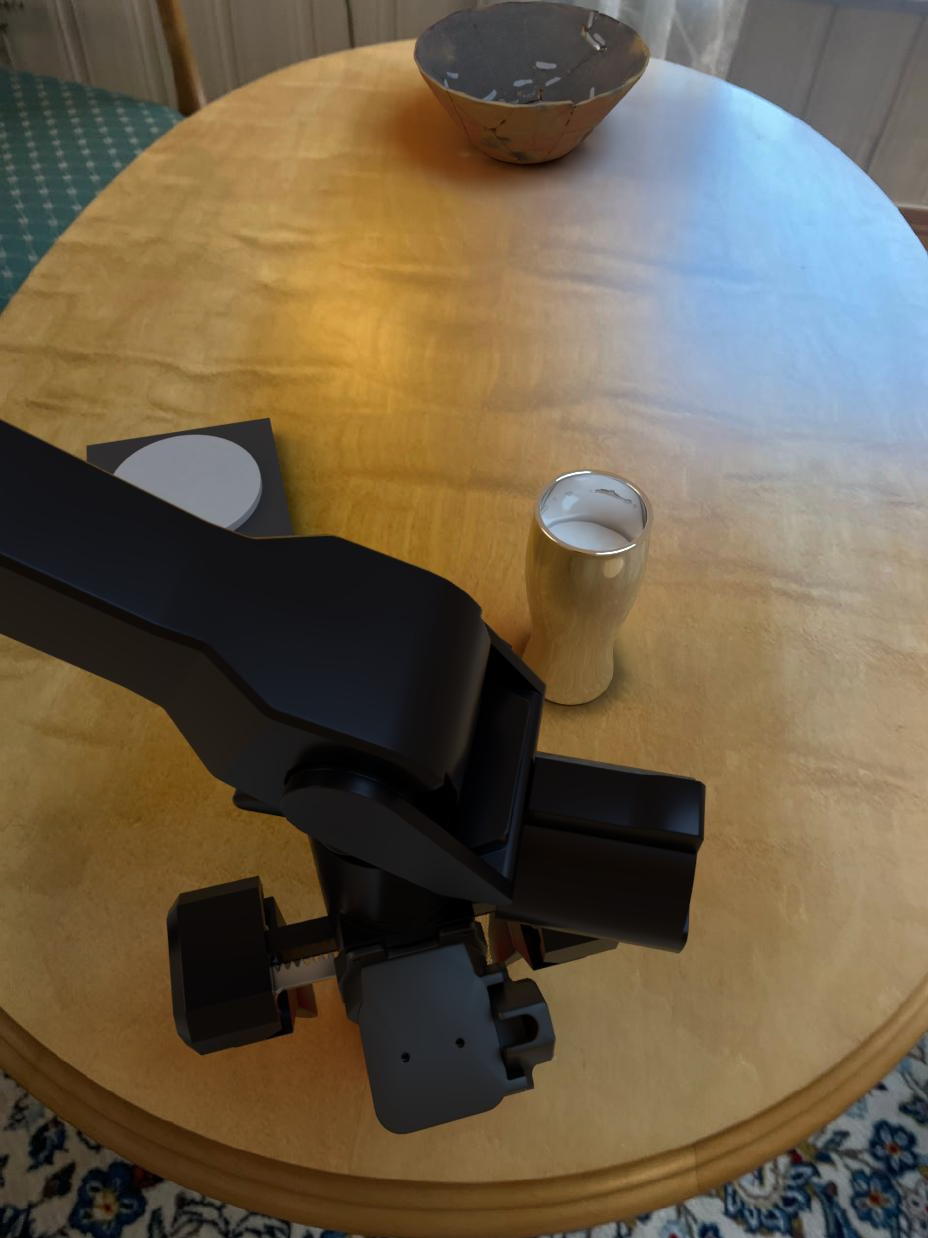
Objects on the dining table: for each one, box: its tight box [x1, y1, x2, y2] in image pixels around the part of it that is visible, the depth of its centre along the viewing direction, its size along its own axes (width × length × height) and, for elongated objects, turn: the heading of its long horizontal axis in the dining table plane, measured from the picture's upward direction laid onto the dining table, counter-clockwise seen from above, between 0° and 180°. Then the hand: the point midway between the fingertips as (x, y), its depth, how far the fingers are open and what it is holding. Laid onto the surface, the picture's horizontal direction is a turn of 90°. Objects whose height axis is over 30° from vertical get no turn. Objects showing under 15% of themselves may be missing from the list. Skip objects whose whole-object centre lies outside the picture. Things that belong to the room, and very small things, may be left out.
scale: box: [85, 417, 295, 537], centre depth 72 cm, size 14×14×3 cm
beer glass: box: [521, 468, 655, 706], centre depth 59 cm, size 7×7×15 cm
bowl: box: [413, 0, 651, 165], centre depth 105 cm, size 25×25×10 cm
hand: (405, 983), depth 48 cm, fingers open, 9 cm apart
